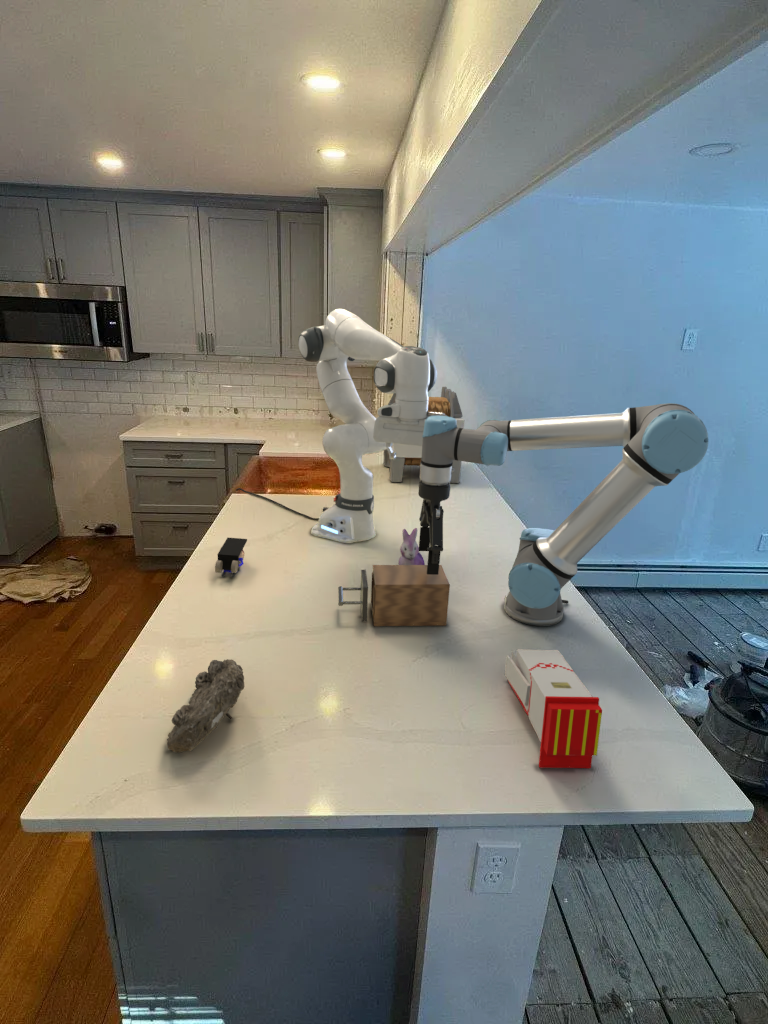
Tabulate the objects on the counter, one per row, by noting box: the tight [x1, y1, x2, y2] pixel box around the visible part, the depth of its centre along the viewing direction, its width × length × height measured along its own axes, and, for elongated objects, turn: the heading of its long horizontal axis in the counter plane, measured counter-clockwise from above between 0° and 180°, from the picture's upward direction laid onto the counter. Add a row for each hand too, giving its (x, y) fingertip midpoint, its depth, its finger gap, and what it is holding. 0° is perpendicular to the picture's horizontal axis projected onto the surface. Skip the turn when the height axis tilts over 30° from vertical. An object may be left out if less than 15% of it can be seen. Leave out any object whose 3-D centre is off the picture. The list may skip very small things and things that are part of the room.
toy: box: [504, 648, 603, 769], centre depth 111 cm, size 12×13×30 cm
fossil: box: [166, 658, 245, 754], centre depth 106 cm, size 22×10×15 cm
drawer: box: [337, 569, 375, 622], centre depth 145 cm, size 23×10×10 cm, turn 95°
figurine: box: [398, 527, 426, 565], centre depth 166 cm, size 9×10×15 cm
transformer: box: [383, 386, 465, 484], centre depth 268 cm, size 34×33×41 cm
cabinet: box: [371, 564, 451, 627], centre depth 146 cm, size 18×11×12 cm, turn 95°
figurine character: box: [214, 537, 248, 578], centre depth 166 cm, size 7×8×15 cm
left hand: (408, 460), depth 156 cm, fingers open, 8 cm apart
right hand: (427, 561), depth 143 cm, fingers open, 13 cm apart
